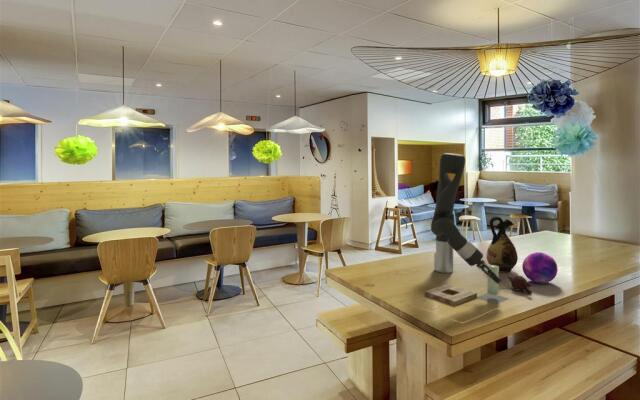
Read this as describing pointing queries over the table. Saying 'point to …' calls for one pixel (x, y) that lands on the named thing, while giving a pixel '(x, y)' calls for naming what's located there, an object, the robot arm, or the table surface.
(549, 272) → the decorative orb
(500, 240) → the ceramic jug
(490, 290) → the ball
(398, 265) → the table surface
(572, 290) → the table surface
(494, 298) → the mat
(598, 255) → the table surface
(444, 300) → the pocket block
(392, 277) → the table surface
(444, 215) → the robot arm
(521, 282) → the icecream
